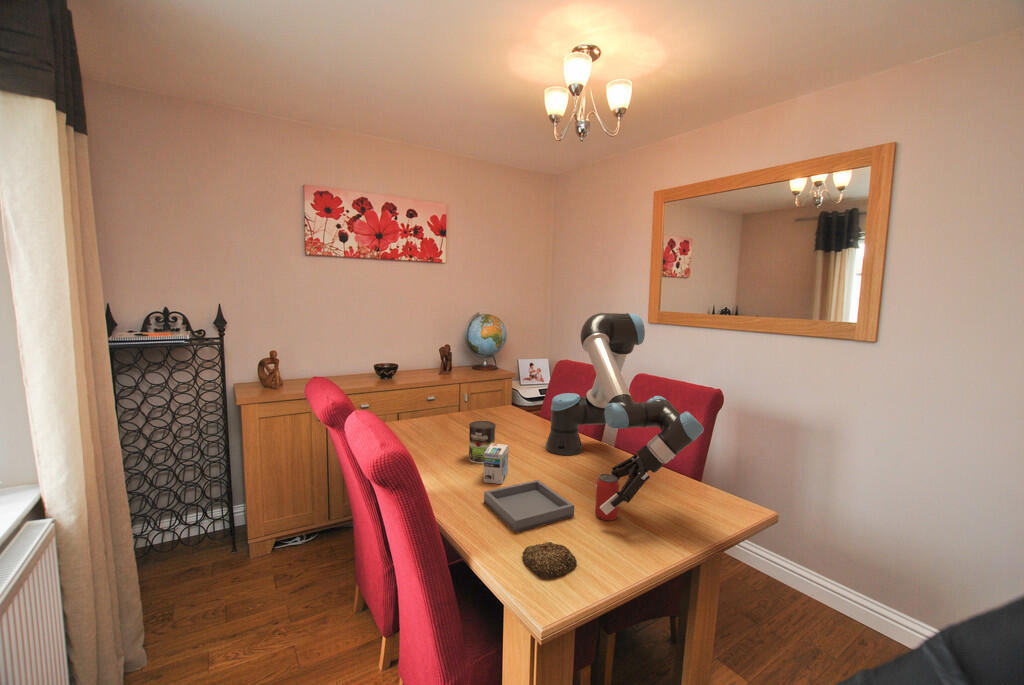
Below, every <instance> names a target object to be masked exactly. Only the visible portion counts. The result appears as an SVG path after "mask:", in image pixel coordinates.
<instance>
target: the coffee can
mask: <svg viewBox="0 0 1024 685" xmlns="http://www.w3.org/2000/svg"><path fill="white" fill-rule="evenodd" d="M468 436H469V442H468V446H469V447H468V449H469V450H468V460H469V462H471V463H473V464H478V465H484V452H485V451H486V450H487V448H488V447H489V446H490V444H491V443H495V444H496V423H494V422H492V421H489V420H475V421H472V422H469V434H468Z"/></svg>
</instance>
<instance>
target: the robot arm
mask: <svg viewBox="0 0 1024 685" xmlns="http://www.w3.org/2000/svg"><path fill="white" fill-rule="evenodd" d="M645 330H646V329H645V325H644V321H643V319H642V318H641V317H640V315H638V314H637V313H629V312H627V313H619V312H618V313H616V312H615V313H612V312H609V313H608V312H599V313H595V314H593V315H591V316H590V317H588V318H587V319H586V321H585V322H584V323H583V325H582V328H581V331H580V342H581V346H582V349H583V351H585V352H586V353H587V354H588V356H589V359H590V361H591V364H592V366H593V370H594V372H595V373H596V376H595V379H594V381H593V385H592V387H591V388H590V389H589V390H587V392H586V393H585V394H586V395H585V396H584V397H583V396H581V395H580V394H578V393H573V392H572V393H571V392H567V393H565V392H564V393H560V394H557V395H555V396H554V397H553V398H552V400H551V406H550V410H551V412H550V414H551V415H550V432H549V434H548V437H547V440H546V442H545V449H546V451H547V452H549V453H551V454H553V455H558V456H575V455H578V454H580V453H581V452H582V451H583V450H582V449H583V444H582V440H581V437H580V433H579V426H585V425H586V426H588V425H590V426H591V425H592V426H593V425H595V426H596V425H598V426H599V425H600V426H601V425H607V426H608V427H609V428H611V429H623V430H624V429H633V428H634V429H635V428H656V427H657V428H658V429H659V430H661V431H660V432H658V434H656V435H655V436H653V437H652V438H651V439H650V440H649V441H648V442H647V445H643V446H642V447H641V448H640V449H639V450H637V452H636V453H635V454H633V455H632V456H631V457H629V458H627V459H626V460H623V461H622V462H620V463H618V464H616V465H614V466H613V467H611V473H610V474H612V475H614V476H616V477H617V478H618V481H619V480H620V478H623V477H626V476H628V478H627V480H626V481H625V483H623V486H622V488H620V490H619V492H616V494H615V495H613V496H612V497H611V498H610V499H609V500H607V501H606V502H605V503H604V504H603V505H601V506H600V509H601V510H602V511H603V512H604V513H605V514H606V515H607V514H608V513H610V512H611V511H612V510H613V509H614V508H616V507H617V506H618V507H619V506H620V505H621V504H622V503H623V502H625V503H627V504H628V503H630V502H631V500H632V499H633V498H634V496H635V495H636V494H637V493H638V491H640V489H641V488H642V487H643V485H644V484H645V483H646V482H647V481H649V479H650V477H651V476H650V474H648V472H650V471H651V473H655V474H656V472H658V471H659V470H660V469H661V468H663V467H664V464H667V463H668V462H670V461H671V460H675V459H674V458H675V457H676V456H677V455H678V454H679V453H680V452H682V451H683V450H684V449H685V448H687V447H688V446H690V444H692V443H693V442H695V441H696V440H697V439H698V438H699V437H700V436H701V435H702V434H703V433H704V431H705V429H704V426H703V425H702V424H701V423H700V422H699V421H698V420H697V419H696V418H695V417H694V416H693V415H692V414H691V412H689V411H688V410H687V411H684V412H682V413H680V412H679V411H678V410H677V408H675V406H674V405H673V404H672V403H671V402H670V401H669V400H667V399H666V398H665V397H663V396H661V395H655V396H653V397H651V398H649V399H647V401H646V402H644V401H643V402H642V401H641V402H635V401H634V399H633V398H632V395H631V393H630V391H629V388H628V385H627V384H626V381H625V379H624V377H623V374H622V370H623V367H624V364H625V361H626V358H627V355H630V354H632V352H633V351H634V348H635V346H640V345H642V344H643V343H644V340H645V334H646V333H645V332H646V331H645ZM596 487H597V484H596V485H595V488H596Z"/></svg>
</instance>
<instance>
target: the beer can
mask: <svg viewBox="0 0 1024 685" xmlns="http://www.w3.org/2000/svg"><path fill="white" fill-rule="evenodd" d="M596 485H597V487H595V489H596V491H595V508H594V509H595V510H594V512H595V516H596V517H597V518H599V519H601V520H604V521H613V520H615V519H617V517H618V516H619V505H618V506H617V507H616V508H614V509H613V510H612V511H611V512H610V513H608V514H607V515H606V514H605V513H604V512H603V511H602V510H601V509H600V506H601V505H603V504H604V503H605V502H606V501H607V500H609V499H610V498H611V497H612V496H613V495H615V494H616V492H620V483H619V480H618V478H617V477H616V476H614V475H612V473H602V474H600V475H598V479H597V482H596Z"/></svg>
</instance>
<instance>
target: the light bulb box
mask: <svg viewBox="0 0 1024 685" xmlns="http://www.w3.org/2000/svg"><path fill="white" fill-rule="evenodd" d="M508 473H509V445H508V444H502V443H496V442H495V443H491V444H490V446H489V447H488V448H487V450H486V451H485V452H484V464H483V483H488V484H496V485H497V484H498V485H502V484H503V482H504V481H505V479H506V478H507V476H508V475H509V474H508Z"/></svg>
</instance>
